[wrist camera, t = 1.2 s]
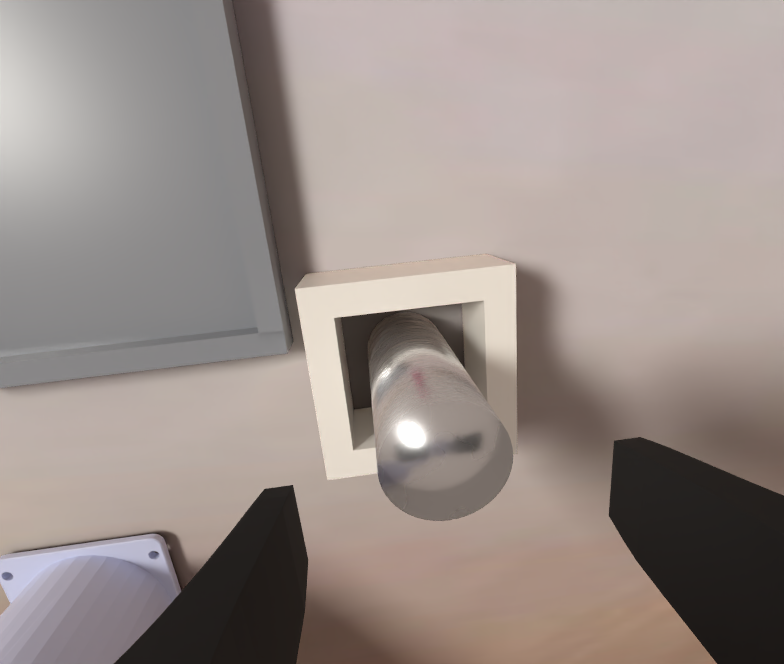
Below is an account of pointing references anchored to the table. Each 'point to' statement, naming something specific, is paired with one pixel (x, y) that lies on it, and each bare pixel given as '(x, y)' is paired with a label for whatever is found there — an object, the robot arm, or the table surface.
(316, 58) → the table surface
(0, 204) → the tray
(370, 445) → the white hollow block
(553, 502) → the table surface
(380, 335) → the steel pin
